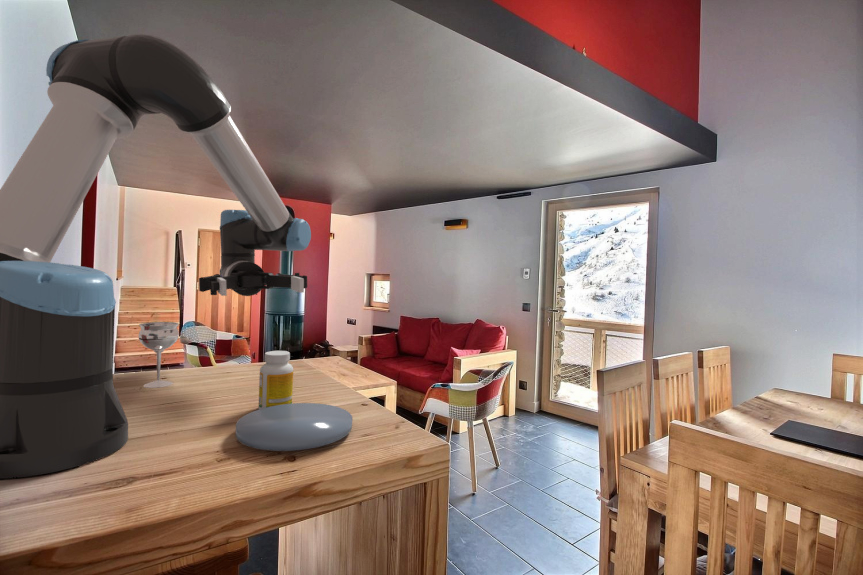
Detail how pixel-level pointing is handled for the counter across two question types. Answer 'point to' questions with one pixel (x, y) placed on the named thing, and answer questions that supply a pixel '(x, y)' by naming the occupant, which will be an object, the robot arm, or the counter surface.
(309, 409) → the slate dish
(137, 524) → the counter surface
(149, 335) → the wineglass
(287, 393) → the supplement bottle
